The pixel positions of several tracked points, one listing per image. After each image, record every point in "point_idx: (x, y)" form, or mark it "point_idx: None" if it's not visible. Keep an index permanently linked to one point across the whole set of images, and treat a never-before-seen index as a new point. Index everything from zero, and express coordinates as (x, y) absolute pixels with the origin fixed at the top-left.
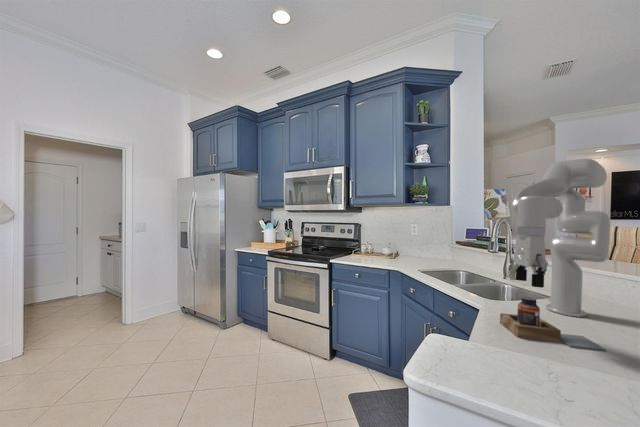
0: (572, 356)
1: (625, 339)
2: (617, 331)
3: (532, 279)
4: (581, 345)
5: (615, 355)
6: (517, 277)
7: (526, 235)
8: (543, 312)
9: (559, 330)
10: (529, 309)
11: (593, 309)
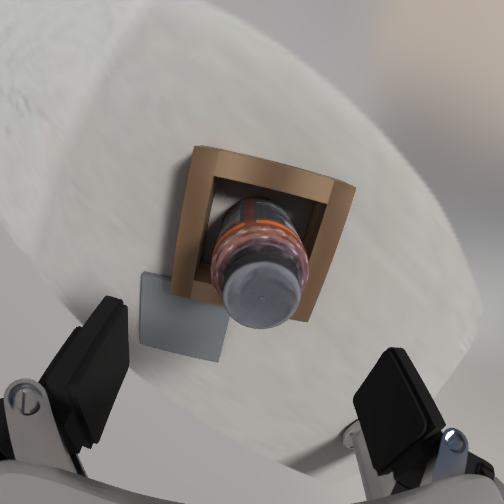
0: (90, 225)
1: (221, 423)
2: (263, 439)
3: (79, 336)
4: (148, 305)
5: None
6: (394, 366)
7: None
8: None
9: (170, 290)
10: (219, 245)
11: None
